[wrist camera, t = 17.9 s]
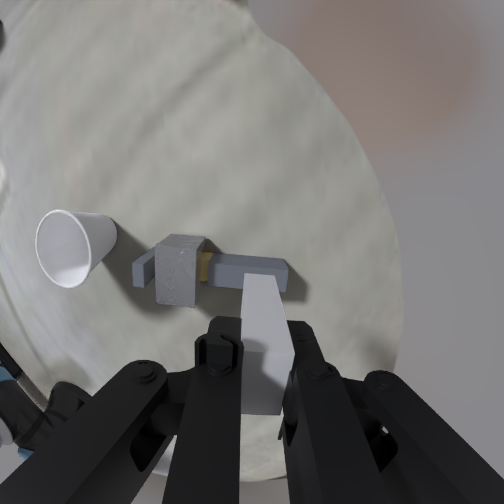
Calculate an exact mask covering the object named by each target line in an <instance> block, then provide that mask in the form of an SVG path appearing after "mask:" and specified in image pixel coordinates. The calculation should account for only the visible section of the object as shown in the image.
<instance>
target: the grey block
mask: <svg viewBox="0 0 504 504" xmlns="http://www.w3.org/2000/svg"><path fill="white" fill-rule="evenodd" d="M205 242H206V237H202V236H190V235H178V234H170V235H169V236H167V237H166V238H165V239H163V240H162V241H160V242H159V243H158V244H156V245H155V288H156V303H158V304H166V305H174V306H182V307H190V308H195V306H196V304H197V301H198V299H199V296H200V294H201V291H202V289H203V285H204V281H200V280H201V255H202V250H203V248H204V247H205Z"/></svg>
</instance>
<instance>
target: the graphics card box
mask: <svg viewBox="0 0 504 504" xmlns="http://www.w3.org/2000/svg"><path fill="white" fill-rule="evenodd" d="M0 367H3V368H5V369H6V370H7V371H8V372H9V373H10V375H11V376H12V377H13V378H14V379H16V381H17V380H18V379H19V377H20V375H21V373H22V370H21V369H20V368H19V367H18V366H17V365H16V363H15V362H14V361H13V360H12V358H11V357H10V356H9V355H8V353H7V352H6V351H5V349H4V348H3V347H2V345H1V344H0Z"/></svg>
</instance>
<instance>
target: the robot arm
mask: <svg viewBox="0 0 504 504" xmlns="http://www.w3.org/2000/svg"><path fill="white" fill-rule="evenodd" d="M282 406H283V413H284V417H283V421H282V424H281V428H280V431H279V435H278V440H281V438H282V437H283V445H284V454H285V463H286V471H287V480H288V489H289V498H290V504H504V479H503V478H502V477H501V476H500V475H499V474H497V472H496V471H495V470H494V469H493V468H492V467H491V466H490V465H489V464H488V463H487V462H486V461H485V460H484V459H483V458H482V457H481V456H480V455H479V454H478V453H477V452H476V451H475V450H474V449H473V448H472V447H471V446H470V445H469V444H468V443H466V441H465V440H464V439H463V438H462V437H461V436H459V435H458V434H457V433H456V432H455V431H454V430H453V429H452V428H451V427H450V426H449V425H448V424H447V423H446V422H445V421H444V420H443V419H442V418H441V417H440V416H439V415H438V414H437V413H436V412H435V411H434V410H433V409H432V408H431V407H430V406H429V405H428V404H427V403H426V402H424V400H423V399H421V398H420V397H419V396H418V395H417V394H416V393H415V392H414V391H413V390H412V389H411V388H410V387H409V386H408V385H407V384H406V383H405V382H404V381H403V380H401V378H399V377H398V376H397V375H395V374H393V373H391V372H388V371H382V370H377V371H372V372H370V373H368V374H367V376H366V377H365V379H364V381H358V380H352V379H347V378H343V377H341V376H340V373H339V371H338V370H337V369H336V367H334V366H333V365H331V364H330V363H328V362H325V360H324V357H323V355H322V352H321V349H320V347H319V344H318V342H317V339H316V337H315V335H314V332H313V330H312V327H310V326H309V325H308V324H307V323H306V322H305V321H290V320H286V317H285V313H284V309H283V305H282V301H281V298H280V294H279V290H278V286H277V282H276V279H275V276H273V275H261V274H250V273H245V274H244V285H243V296H242V307H241V318H235V317H224V316H216V317H215V318H214V319H213V320H211V321H210V324H209V328H208V332H207V334H203V335H202V336H200V337H198V338H197V340H196V341H195V367H193V368H191V369H189V370H186V371H182V372H171V373H167V371H166V369H165V368H164V367H163V366H162V365H161V364H159V363H157V362H155V361H150V360H137V361H134V362H130V363H129V364H127V365H126V366H124V367H123V368H122V369H121V370H120V371H119V372H118V373H117V374H116V375H115V376H114V377H113V378H112V379H110V380H109V381H108V382H107V383H106V384H105V385H104V386H103V387H102V388H101V389H100V390H99V391H98V392H97V393H96V394H95V395H94V396H92V397H91V396H90V395H88V394H87V393H86V392H85V391H83V390H82V389H80V388H78V387H77V386H75V385H73V384H70V383H67V382H58V383H56V385H55V386H54V387H53V388H52V390H51V394H50V397H49V401H48V405H47V409H46V410H45V411H44V413H43V412H42V410H41V409H40V408H39V407H38V406H37V405H36V404H35V403H34V402H33V401H32V400H31V399H30V397H29V396H28V395H27V394H26V393H25V392H24V391H23V389H22V388H21V387H20V386H19V385H18V383H17V381H16V379H14V378H13V377H12V376H11V375H10V373H9V372H8V371H7V370H6V369H5V368H3V367H0V447H1V445H2V444H4V445H11V444H12V443H13V442H15V444H17V445H18V447H19V448H18V454H19V455H20V457H22V458H23V460H25V461H24V462H23V463H22V464H21V465H20V466H19V467H18V468H17V469H16V470H15V471H14V472H13V473H12V474H11V475H10V476H9V477H8V478H7V479H6V480H5V481H3V482H2V483H1V484H0V504H131V502H132V501H133V499H134V498H135V496H136V495H137V493H138V492H139V490H140V489H141V487H142V486H143V484H144V483H145V481H146V480H147V478H148V477H149V475H150V474H151V472H152V470H153V469H154V467H155V466H156V464H157V463H158V461H159V460H160V458H161V456H162V455H163V453H164V452H165V450H166V449H167V447H168V445H169V444H170V442H171V441H172V439H173V437H174V435H177V439H176V443H175V447H174V452H173V456H172V460H171V465H170V469H169V473H168V478H167V483H166V487H165V491H164V496H163V501H162V504H239V474H240V426H241V414H251V415H280V414H281V410H282ZM383 426H384V427H385V428H386V429H387V430H388V433H385V432H384V431H383V430H382V428H383Z"/></svg>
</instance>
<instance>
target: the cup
mask: <svg viewBox="0 0 504 504" xmlns="http://www.w3.org/2000/svg"><path fill="white" fill-rule="evenodd" d="M116 240H117V230H116V227H115V224H114V223H113V221H112V220H111V219H110V218H109V217H108V216H106V215H104V214H99V213H79V212H68V211H65V210H54V211H51V212H49V213H48V214H46V215H45V216H44V218H43V219H42V220H41V222H40V224H39V226H38V229H37V233H36V253H37V257H38V260H39V263H40V265H41V267H42V269H43V271H44V273H45V274H46V275H47V276H48V278H49V279H50V280H51V281H52V282H54V283H55V284H57V285H58V286H60V287H63V288H68V289H71V288H76V287H78V286H80V285H82V284H83V283H84V282H85V281H86V279H87V278H88V276H89V274H90V273H91V271H92V270H93V269H94V268H95V267H96V266H97V265H98V263H99V262H100V261H101V260H102V259H103V258H104V257H105V256H106V255H107V254H108V253H109V252H110V251H111V249H112V248H113V247H114V245H115V243H116Z"/></svg>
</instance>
